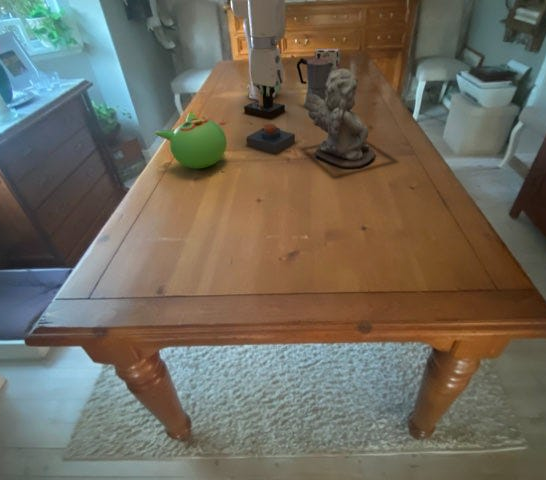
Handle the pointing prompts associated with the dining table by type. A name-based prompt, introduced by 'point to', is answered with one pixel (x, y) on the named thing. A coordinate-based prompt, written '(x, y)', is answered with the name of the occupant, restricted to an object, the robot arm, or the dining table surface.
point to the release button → (269, 128)
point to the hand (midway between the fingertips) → (268, 107)
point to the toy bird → (196, 142)
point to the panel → (264, 110)
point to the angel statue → (340, 123)
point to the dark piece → (270, 140)
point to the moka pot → (315, 75)
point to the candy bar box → (330, 57)
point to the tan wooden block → (260, 99)
